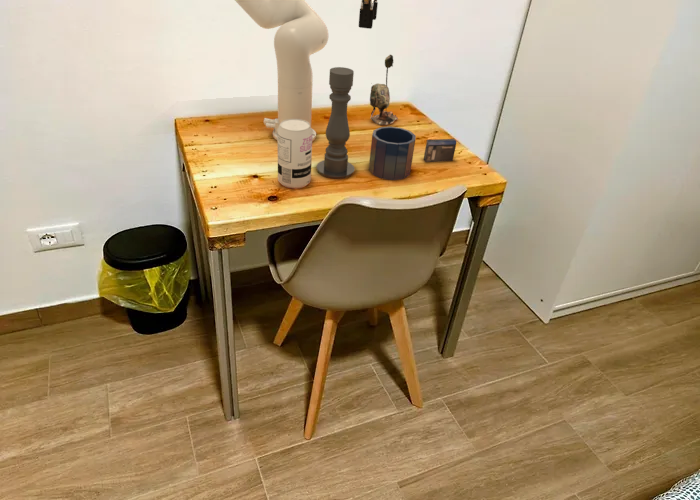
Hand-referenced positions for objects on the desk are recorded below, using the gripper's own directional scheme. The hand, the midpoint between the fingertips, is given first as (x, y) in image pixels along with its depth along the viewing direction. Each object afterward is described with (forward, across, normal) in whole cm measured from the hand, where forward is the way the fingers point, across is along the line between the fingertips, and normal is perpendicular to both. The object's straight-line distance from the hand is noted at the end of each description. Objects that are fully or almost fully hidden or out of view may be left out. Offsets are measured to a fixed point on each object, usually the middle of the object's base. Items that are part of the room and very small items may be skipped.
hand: (367, 23), depth 128 cm
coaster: (+34, +12, -4) cm, 37 cm away
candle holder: (+34, +12, -4) cm, 36 cm away
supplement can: (+34, +21, -13) cm, 42 cm away
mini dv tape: (+34, -2, +23) cm, 42 cm away
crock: (+34, +8, +10) cm, 37 cm away
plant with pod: (+34, -26, +5) cm, 43 cm away
